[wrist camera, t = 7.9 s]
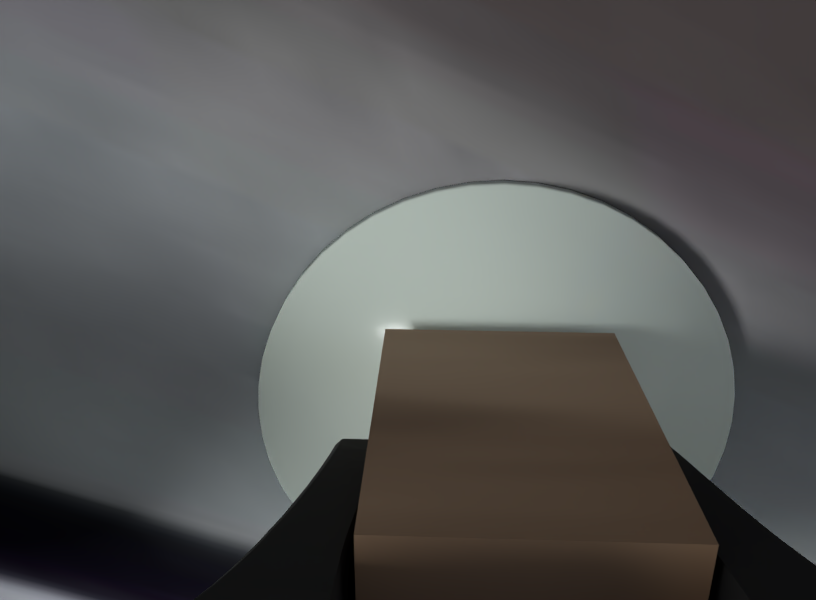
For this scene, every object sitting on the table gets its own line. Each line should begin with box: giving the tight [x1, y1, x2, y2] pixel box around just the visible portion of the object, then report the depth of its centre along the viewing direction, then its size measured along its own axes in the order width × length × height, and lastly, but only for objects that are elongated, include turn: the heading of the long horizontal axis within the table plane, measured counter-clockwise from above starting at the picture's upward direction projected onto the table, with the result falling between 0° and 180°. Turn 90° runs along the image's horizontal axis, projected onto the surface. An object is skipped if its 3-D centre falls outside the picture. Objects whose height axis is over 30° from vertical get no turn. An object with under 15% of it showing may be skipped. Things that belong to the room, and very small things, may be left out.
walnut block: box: [354, 329, 719, 600], centre depth 12 cm, size 4×4×6 cm
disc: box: [258, 180, 735, 504], centre depth 15 cm, size 9×9×1 cm
